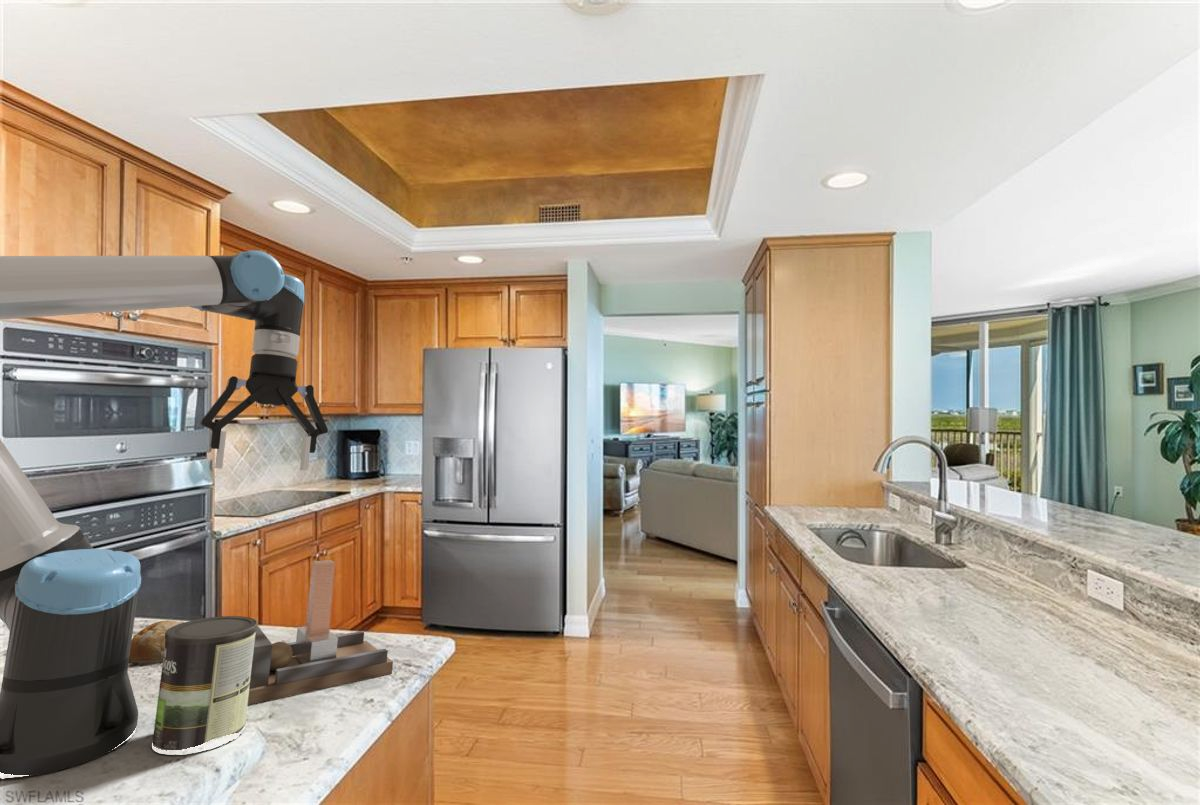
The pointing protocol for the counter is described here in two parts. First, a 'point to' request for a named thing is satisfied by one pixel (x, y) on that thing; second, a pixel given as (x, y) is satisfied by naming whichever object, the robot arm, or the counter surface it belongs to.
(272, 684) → the base
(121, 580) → the robot arm
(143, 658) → the bread roll
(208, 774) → the counter surface
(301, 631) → the sliding jaw
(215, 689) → the coffee can
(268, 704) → the counter surface
